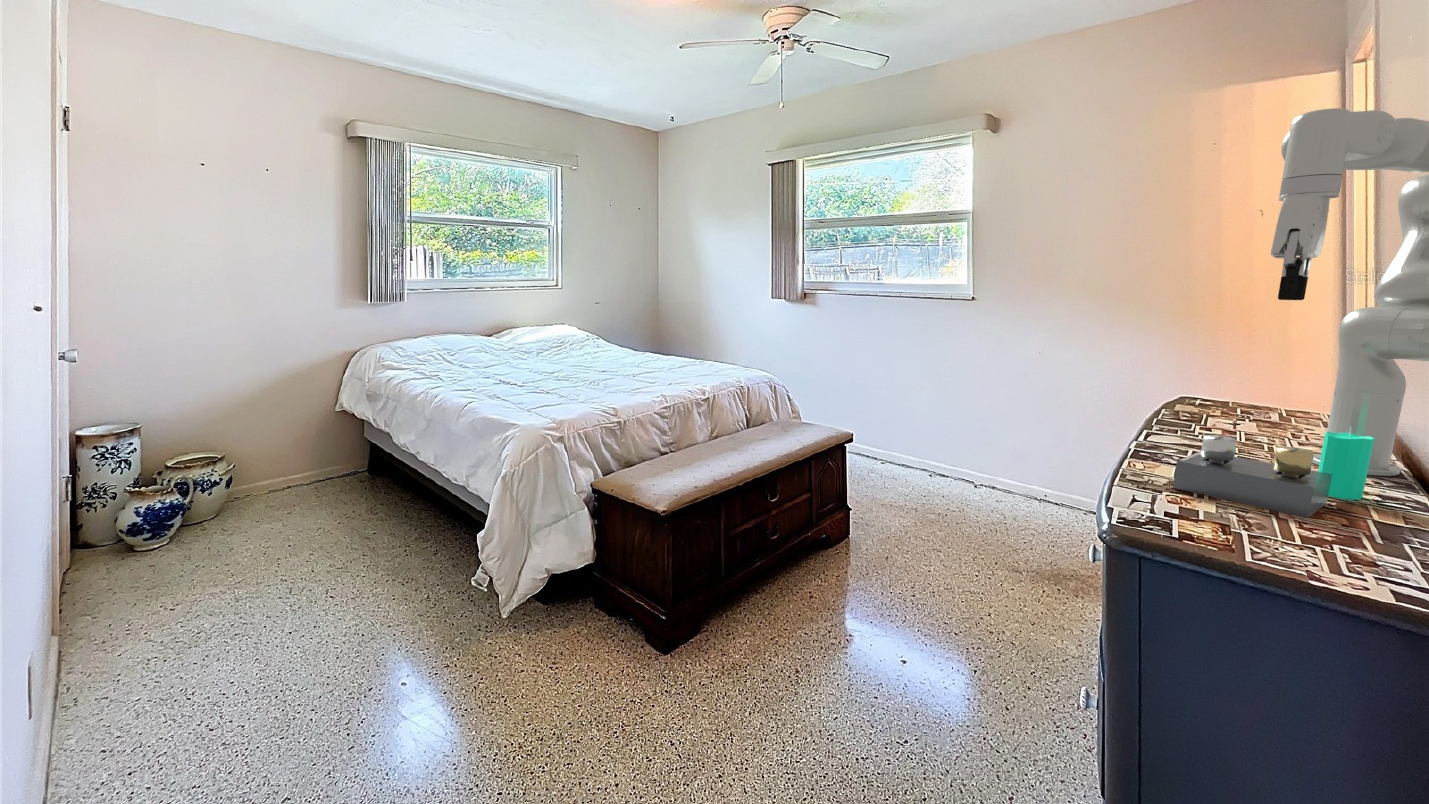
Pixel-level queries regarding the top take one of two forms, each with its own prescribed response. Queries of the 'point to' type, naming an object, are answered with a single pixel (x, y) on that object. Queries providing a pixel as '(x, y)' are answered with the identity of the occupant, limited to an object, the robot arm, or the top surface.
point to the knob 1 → (1218, 448)
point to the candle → (1346, 463)
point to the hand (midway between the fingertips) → (1290, 299)
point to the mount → (1253, 484)
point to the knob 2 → (1293, 461)
